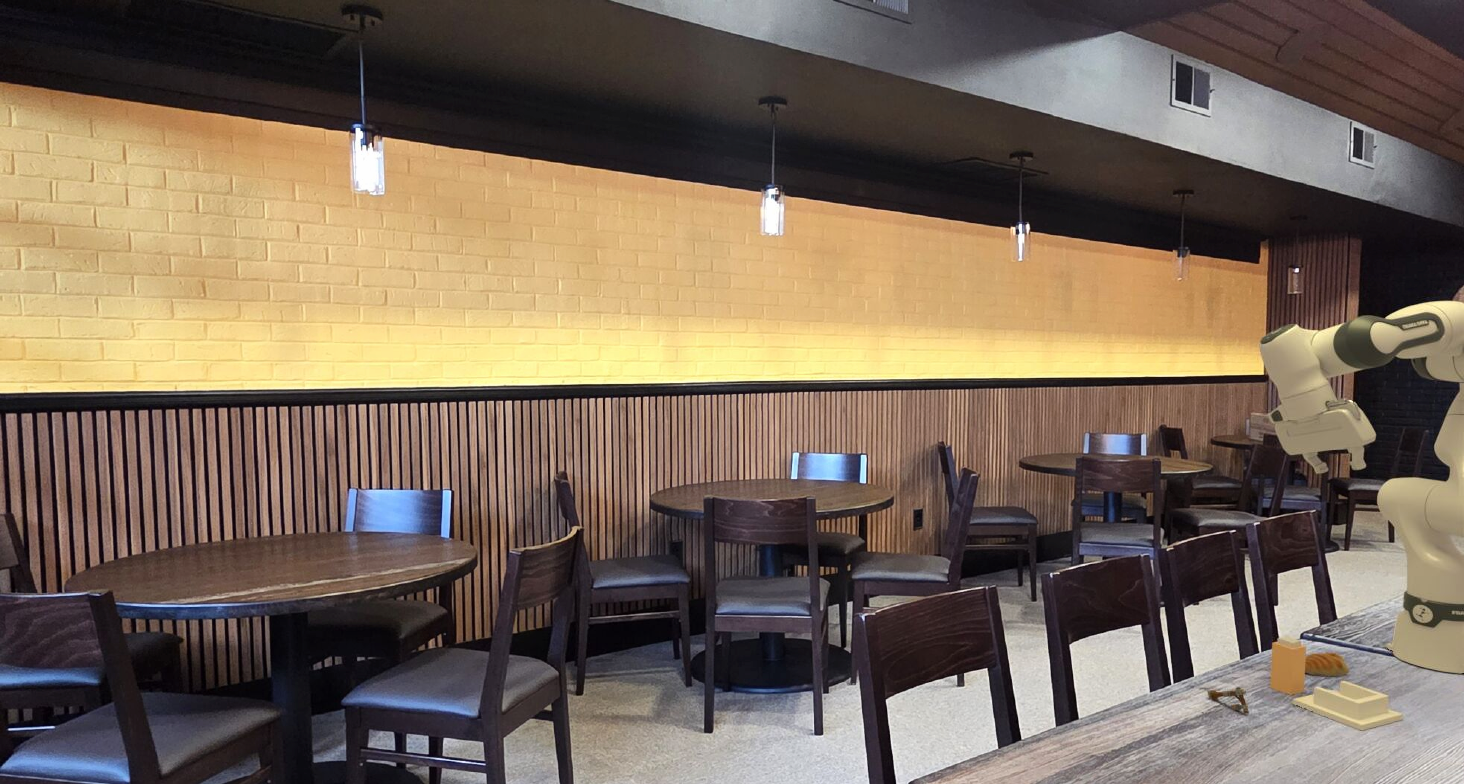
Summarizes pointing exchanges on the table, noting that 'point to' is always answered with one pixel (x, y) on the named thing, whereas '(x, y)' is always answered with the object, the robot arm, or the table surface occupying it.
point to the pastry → (1325, 665)
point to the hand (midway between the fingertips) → (1340, 470)
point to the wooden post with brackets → (1214, 696)
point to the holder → (1351, 706)
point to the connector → (1288, 666)
